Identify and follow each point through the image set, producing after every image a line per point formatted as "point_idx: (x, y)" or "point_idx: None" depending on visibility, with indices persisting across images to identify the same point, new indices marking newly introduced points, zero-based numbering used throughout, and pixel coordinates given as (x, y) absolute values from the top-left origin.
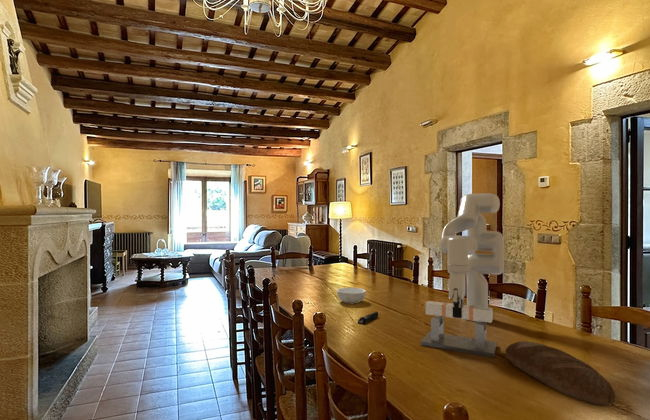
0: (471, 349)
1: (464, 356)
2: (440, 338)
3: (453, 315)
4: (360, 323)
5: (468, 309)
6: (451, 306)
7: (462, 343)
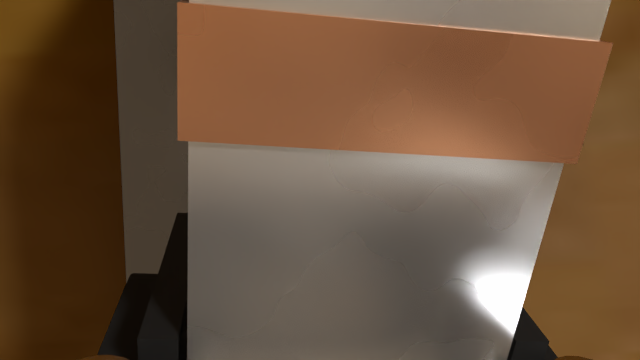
0: (135, 254)
1: (43, 193)
2: None
3: (176, 237)
4: None
5: None
6: (192, 304)
7: None
